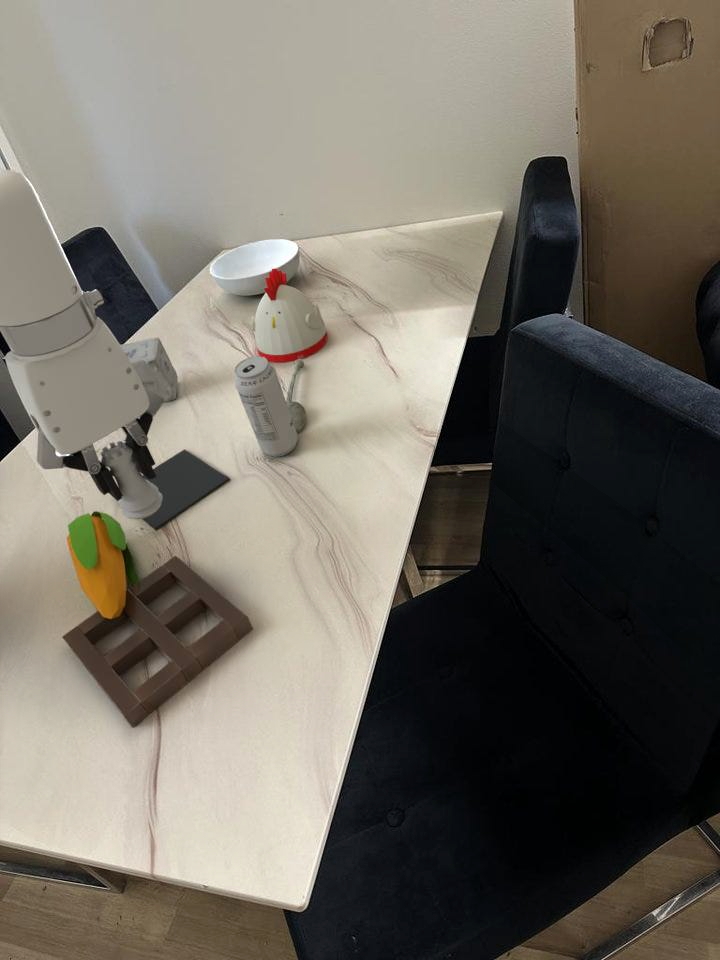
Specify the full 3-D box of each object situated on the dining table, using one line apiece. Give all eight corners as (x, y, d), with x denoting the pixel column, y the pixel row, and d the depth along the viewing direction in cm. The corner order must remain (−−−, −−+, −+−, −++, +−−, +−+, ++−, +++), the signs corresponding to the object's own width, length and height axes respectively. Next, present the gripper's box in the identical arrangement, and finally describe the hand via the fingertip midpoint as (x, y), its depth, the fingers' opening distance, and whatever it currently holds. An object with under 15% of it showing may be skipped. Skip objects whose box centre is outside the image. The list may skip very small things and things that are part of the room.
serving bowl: (202, 295, 157) (192, 267, 153) (271, 261, 166) (264, 234, 162) (251, 314, 144) (242, 284, 139) (323, 275, 153) (317, 246, 148)
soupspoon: (265, 443, 106) (306, 440, 105) (260, 426, 103) (302, 423, 103) (283, 368, 122) (318, 364, 121) (279, 352, 120) (315, 348, 119)
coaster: (156, 530, 93) (155, 528, 93) (114, 495, 101) (113, 493, 101) (230, 480, 99) (229, 477, 98) (185, 451, 107) (184, 449, 107)
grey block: (123, 416, 120) (98, 366, 113) (131, 392, 126) (108, 344, 120) (175, 405, 119) (153, 354, 113) (181, 381, 126) (160, 332, 119)
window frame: (132, 728, 69) (123, 716, 67) (70, 647, 79) (61, 636, 78) (253, 628, 76) (247, 616, 75) (181, 566, 86) (175, 555, 85)
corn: (101, 486, 89) (132, 575, 75) (127, 525, 94) (161, 616, 79) (48, 513, 88) (69, 609, 73) (78, 551, 93) (103, 649, 78)
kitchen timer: (247, 363, 126) (222, 289, 117) (273, 328, 136) (252, 257, 127) (315, 361, 122) (295, 284, 113) (336, 325, 132) (319, 251, 122)
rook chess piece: (122, 526, 70) (88, 467, 65) (125, 500, 73) (93, 443, 68) (164, 514, 70) (133, 454, 65) (164, 489, 74) (135, 430, 69)
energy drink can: (307, 441, 102) (280, 361, 92) (278, 464, 100) (247, 384, 89) (283, 428, 106) (254, 349, 95) (254, 449, 103) (222, 371, 93)
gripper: (113, 280, 64) (179, 433, 76) (-56, 357, 57) (45, 513, 68) (150, 295, 60) (214, 456, 71) (-31, 381, 52) (73, 544, 64)
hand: (130, 482), depth 70 cm, fingers closed on rook chess piece, 3 cm apart
